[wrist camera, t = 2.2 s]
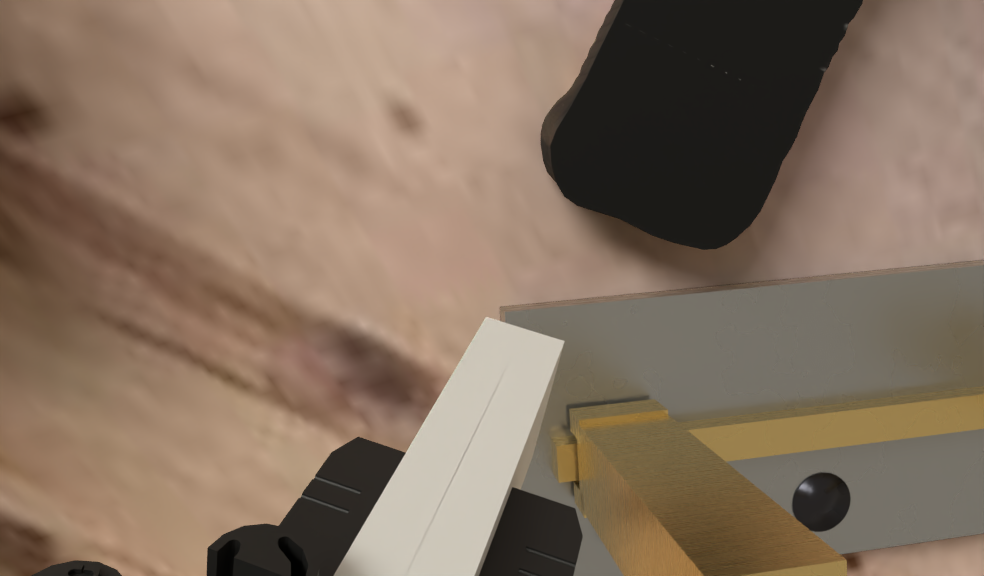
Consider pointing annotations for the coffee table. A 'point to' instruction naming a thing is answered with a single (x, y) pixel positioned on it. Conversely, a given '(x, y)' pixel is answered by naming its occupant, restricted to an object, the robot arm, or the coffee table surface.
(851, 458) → the steel plate
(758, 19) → the black sponge
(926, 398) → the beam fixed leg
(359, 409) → the coffee table surface
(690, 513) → the sliding leg
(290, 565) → the robot arm
